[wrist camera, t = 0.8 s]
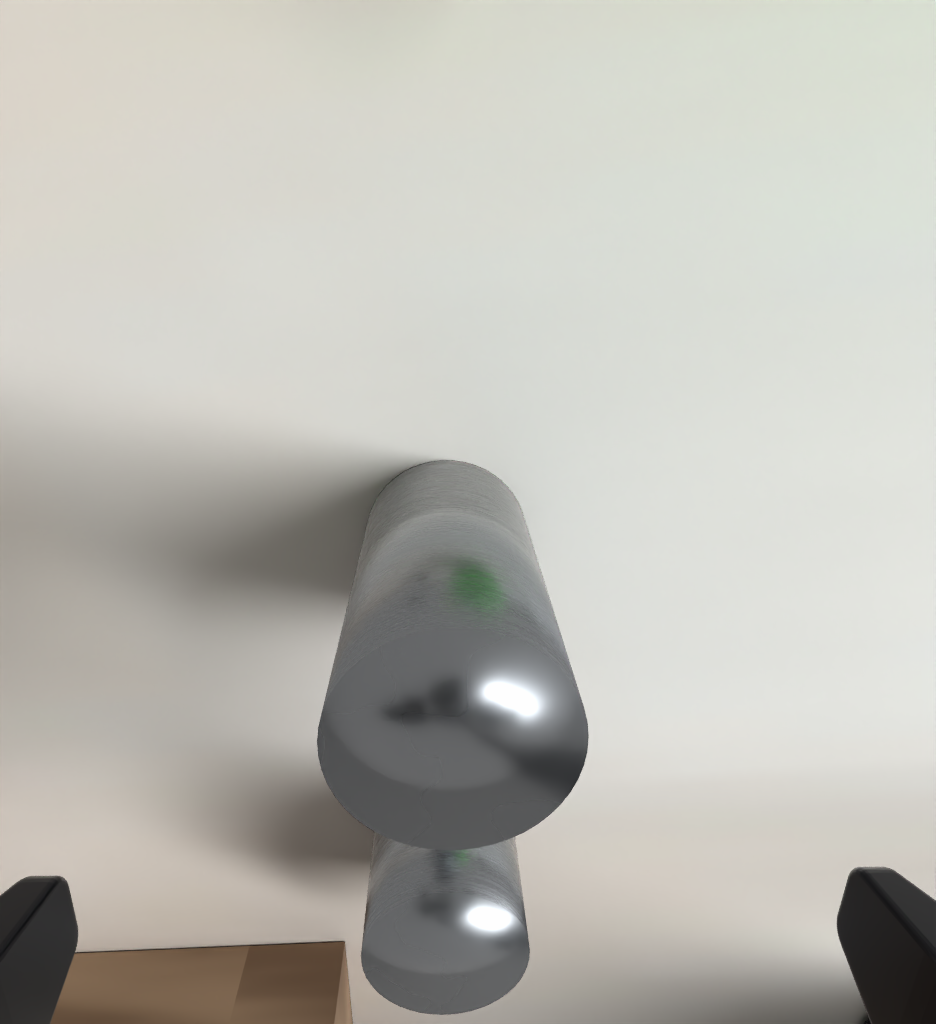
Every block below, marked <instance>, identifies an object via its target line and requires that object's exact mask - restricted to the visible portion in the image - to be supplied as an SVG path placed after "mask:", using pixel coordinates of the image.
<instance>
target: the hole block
mask: <svg viewBox="0 0 936 1024" xmlns="http://www.w3.org/2000/svg"><path fill="white" fill-rule="evenodd" d="M50 1024H353V1022H352V1012H351V1001H350V991H349V980H348V970H347V959H346V949H345V942H331V943H307V944H284V945H261V946H237V947H214V948H191V949H167V950H144V951H121V952H97V953H75V954H74V957H73V960H72V963H71V965H70V968H69V971H68V974H67V977H66V980H65V983H64V986H63V988H62V991H61V994H60V997H59V1000H58V1003H57V1006H56V1009H55V1011H54V1014H53V1017H52V1020H51V1023H50Z"/></svg>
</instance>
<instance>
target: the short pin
mask: <svg viewBox="0 0 936 1024" xmlns="http://www.w3.org/2000/svg"><path fill="white" fill-rule="evenodd" d="M529 953H530V949H529V941H528V933H527V926H526V918H525V910H524V903H523V895H522V888H521V880H520V872H519V865H518V857H517V850H516V842H515V837H513V838H511V839H508V840H505V841H502V842H499V843H496V844H493V845H489V846H484V847H480V848H473V849H465V850H434V849H425V848H420V847H414V846H410V845H407V844H403V843H400V842H397V841H394V840H392V839H389V838H387V837H385V836H382V835H380V834H378V833H377V832H375V831H374V837H373V847H372V856H371V866H370V876H369V885H368V895H367V904H366V914H365V924H364V933H363V943H362V952H361V960H362V967H363V971H364V973H365V975H366V978H367V979H368V981H369V982H370V984H371V985H372V986H373V988H374V989H375V990H376V991H377V992H378V993H379V994H381V995H382V996H383V997H384V998H386V999H387V1000H389V1001H390V1002H392V1003H394V1004H396V1005H398V1006H400V1007H403V1008H406V1009H409V1010H412V1011H416V1012H420V1013H427V1014H439V1015H442V1014H457V1013H463V1012H468V1011H472V1010H475V1009H479V1008H482V1007H484V1006H486V1005H489V1004H491V1003H493V1002H495V1001H496V1000H498V999H500V998H501V997H503V996H504V995H506V994H507V993H508V992H509V991H510V990H511V989H513V988H514V987H515V985H516V984H517V983H518V982H519V981H520V979H521V978H522V976H523V974H524V972H525V970H526V968H527V965H528V961H529Z"/></svg>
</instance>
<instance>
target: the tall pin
mask: <svg viewBox="0 0 936 1024" xmlns="http://www.w3.org/2000/svg"><path fill="white" fill-rule="evenodd" d="M317 745H318V757H319V761H320V765H321V769H322V772H323V775H324V777H325V779H326V782H327V784H328V786H329V787H330V789H331V791H332V792H333V794H334V796H335V797H336V798H337V800H338V801H339V802H340V803H341V805H342V806H343V807H344V808H345V809H346V810H347V811H348V812H349V813H350V814H351V815H352V816H353V817H354V818H355V819H357V820H358V821H360V822H361V823H362V824H364V825H365V826H366V827H368V828H370V829H371V830H373V831H375V832H377V833H378V834H380V835H382V836H385V837H387V838H389V839H392V840H394V841H397V842H400V843H403V844H407V845H410V846H414V847H420V848H425V849H434V850H465V849H473V848H480V847H484V846H489V845H493V844H496V843H499V842H502V841H505V840H508V839H511V838H513V837H515V836H517V835H519V834H521V833H524V832H525V831H527V830H529V829H530V828H532V827H534V826H535V825H537V824H538V823H540V822H541V821H542V820H544V819H545V818H546V817H548V816H549V815H550V814H551V813H552V812H553V811H554V810H555V809H556V808H557V807H558V806H559V805H560V804H561V803H562V802H563V801H564V800H565V798H566V797H567V796H568V794H569V793H570V792H571V790H572V789H573V787H574V785H575V783H576V782H577V780H578V778H579V776H580V773H581V771H582V768H583V766H584V762H585V758H586V754H587V748H588V724H587V719H586V714H585V710H584V706H583V703H582V700H581V697H580V694H579V690H578V687H577V684H576V681H575V678H574V675H573V671H572V668H571V665H570V662H569V659H568V655H567V652H566V649H565V646H564V643H563V640H562V636H561V633H560V630H559V627H558V624H557V620H556V617H555V614H554V611H553V608H552V604H551V601H550V598H549V595H548V592H547V589H546V585H545V582H544V579H543V576H542V573H541V569H540V566H539V563H538V560H537V557H536V554H535V550H534V547H533V544H532V541H531V538H530V534H529V531H528V528H527V525H526V522H525V518H524V515H523V512H522V510H521V507H520V505H519V503H518V501H517V499H516V497H515V496H514V494H513V493H512V492H511V490H510V489H509V488H508V487H507V486H506V485H505V484H504V483H503V482H502V481H501V480H500V479H499V478H498V477H496V476H495V475H494V474H492V473H490V472H489V471H487V470H485V469H483V468H481V467H478V466H476V465H473V464H469V463H465V462H460V461H434V462H428V463H424V464H420V465H418V466H415V467H413V468H410V469H408V470H407V471H405V472H403V473H401V474H400V475H399V476H397V477H396V478H394V479H393V480H392V481H391V482H390V483H389V484H388V485H387V486H386V487H385V488H384V489H383V490H382V492H381V493H380V494H379V496H378V497H377V499H376V501H375V503H374V505H373V507H372V509H371V512H370V515H369V519H368V523H367V527H366V531H365V536H364V540H363V544H362V548H361V552H360V556H359V561H358V565H357V569H356V573H355V577H354V581H353V585H352V590H351V594H350V598H349V602H348V606H347V610H346V615H345V619H344V623H343V627H342V631H341V635H340V639H339V644H338V648H337V652H336V656H335V660H334V664H333V669H332V673H331V677H330V681H329V685H328V689H327V693H326V698H325V702H324V706H323V710H322V714H321V718H320V722H319V727H318V738H317Z"/></svg>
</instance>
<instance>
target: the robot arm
mask: <svg viewBox="0 0 936 1024" xmlns="http://www.w3.org/2000/svg"><path fill="white" fill-rule="evenodd" d="M837 931H838V936H839V939H840V942H841V945H842V948H843V951H844V953H845V956H846V958H847V961H848V964H849V966H850V969H851V972H852V974H853V977H854V980H855V982H856V985H857V987H858V990H859V993H860V995H861V998H862V1001H863V1003H864V1006H865V1009H866V1011H867V1014H868V1016H869V1019H870V1020H869V1021H867V1022H865V1023H864V1024H936V900H934V899H933V898H932V897H930V896H929V895H927V894H926V893H925V892H923V891H922V890H921V889H919V888H918V887H916V886H915V885H914V884H912V883H911V882H910V881H908V880H907V879H906V878H904V877H903V876H901V875H900V874H899V873H897V872H896V871H894V870H892V869H890V868H886V867H857V868H854V869H853V870H852V871H851V872H850V874H849V876H848V880H847V883H846V887H845V891H844V894H843V898H842V901H841V905H840V908H839V912H838V916H837ZM77 941H78V926H77V921H76V917H75V912H74V908H73V903H72V899H71V894H70V890H69V886H68V883H67V881H66V880H65V879H64V878H63V877H61V876H29V877H26V878H24V879H22V880H20V881H18V882H17V883H15V884H14V885H13V886H12V887H10V888H9V889H8V890H7V891H5V892H4V893H3V894H1V895H0V1024H50V1023H51V1020H52V1017H53V1014H54V1011H55V1009H56V1006H57V1003H58V1000H59V997H60V994H61V991H62V988H63V986H64V983H65V980H66V977H67V974H68V971H69V968H70V965H71V963H72V960H73V957H74V954H75V951H76V946H77Z"/></svg>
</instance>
